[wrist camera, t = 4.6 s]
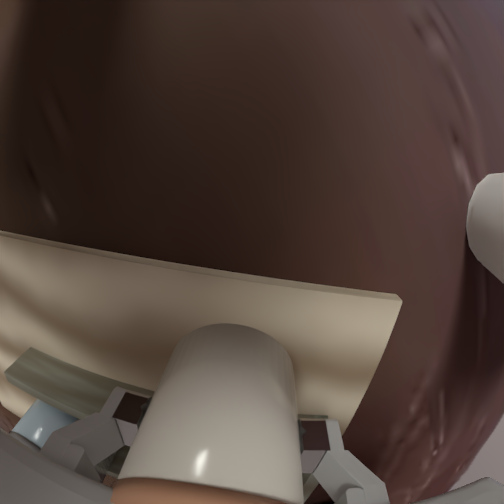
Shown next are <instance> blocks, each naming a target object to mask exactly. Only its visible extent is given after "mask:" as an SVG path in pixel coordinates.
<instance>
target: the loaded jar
mask: <svg viewBox="0 0 504 504" xmlns="http://www.w3.org/2000/svg"><path fill="white" fill-rule="evenodd" d="M76 419H77V418H76V417H74V416H71V415H69V414H67V413H65V412H63V411H61V410H59V409H56V408H54V407H52V406H50V405H48V404H46V403H45V402H43V401H41V400H39V399H36V400H35V402H34V403H33V404H32V405H31V407H30V408H29V409H28V410H27V412H26V413H25V414H24V416H23V417H22V418H21V420H20V421H19V422H18V423H17V425H16V426H15V427H14V429H13V430H12V431H10V432H9V433H8V434H10V435H11V436H13V437H14V438H16V439H17V440H19V441H20V442H22V443H23V444H25V445H26V446H28V447H30V448H31V449H33V450H35V451H36V452H38V453H39V452H40V450H41V449H42V447H43V445H44V444H45V442H46V441H47V439H48V438H49V436H50V435H51V433H52V432H53V431H55V430H58V429H60V428H62V427H65V426H67V425H69V424H71V423H74V422H75V420H76Z"/></svg>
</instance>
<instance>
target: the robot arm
mask: <svg viewBox="0 0 504 504" xmlns="http://www.w3.org/2000/svg"><path fill="white" fill-rule="evenodd" d="M151 399H152V397H151V396H147V395H144V394H140V393H137V392H134V391H131V390H127V389H124V388H121V387H118V386H117V387H116V388H114V389H113V391H112V393H111V394H110V396H109V398H108V399H107V401H106V403H105V404H104V406H103V408H102V409H101V411H100V413H97V412H95V413H93V414H91V415H89V416H87V417H85V418H82V419H80V420H78V421H76V422H74V423H71V424H69V425H67V426H65V427H62V428H60V429H58V430H55V431H53V432H52V433H51V435H50V436H49V438H48V439H47V441H46V442H45V444H44V445H43V447H42V449H41V450H40V452H39V453H38V452H36V451H35V450H33V449H31V448H30V447H28V446H26V445H25V444H23V443H22V442H20V441H19V440H17V439H16V438H14V437H13V436H11V435H10V434H8V433H7V432H5V431H4V430H2V429H1V428H0V504H114V503H111V502H110V500H111V496H112V493H113V488H112V487H109V486H107V485H104V484H102V483H99V482H100V479H101V478H100V475H99V474H98V472H97V471H96V469H95V467H94V466H95V465H96V464H98V463H99V462H101V461H102V460H104V459H105V458H107V457H108V456H110V455H111V454H113V453H114V452H115V451H117V450H118V449H120V448H121V447H123V446H124V445H127V446H130V447H131V445H132V443H133V440H134V438H135V436H136V433H137V431H138V429H139V427H140V424H141V422H142V420H143V417H144V415H145V413H146V411H147V408H148V406H149V404H150V401H151ZM298 425H299V437H300V451H301V465H302V473H313V475H314V477H315V478H316V479H317V481H318V482H319V483H320V484H321V486H322V487H323V488H324V490H325V491H326V492H327V493H328V495H329V496H330V497H331V498H332V500H333V501H334V502H335V503H334V504H390V503H389V498H388V494H387V490H386V487H385V483H384V482H383V481H381V480H380V479H379V478H378V477H377V476H376V475H375V474H373V473H372V472H371V471H370V470H369V469H368V468H367V467H366V466H365V465H363V464H362V463H361V462H360V461H359V460H358V459H357V458H356V457H355V456H354V455H353V454H351V453H350V452H349V451H348V450H344V446H343V441H342V436H341V432H340V427H339V423H338V420H337V419H307V418H299V419H298ZM411 504H504V485H503V484H501V483H499V482H498V481H495V480H494V479H492V478H490V477H485V478H482V479H479V480H477V481H475V482H472V483H470V484H467V485H465V486H463V487H460V488H457V489H455V490H452V491H449V492H447V493H444V494H441V495H438V496H435V497H432V498H428V499H425V500H422V501H418V502H414V503H411Z"/></svg>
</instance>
